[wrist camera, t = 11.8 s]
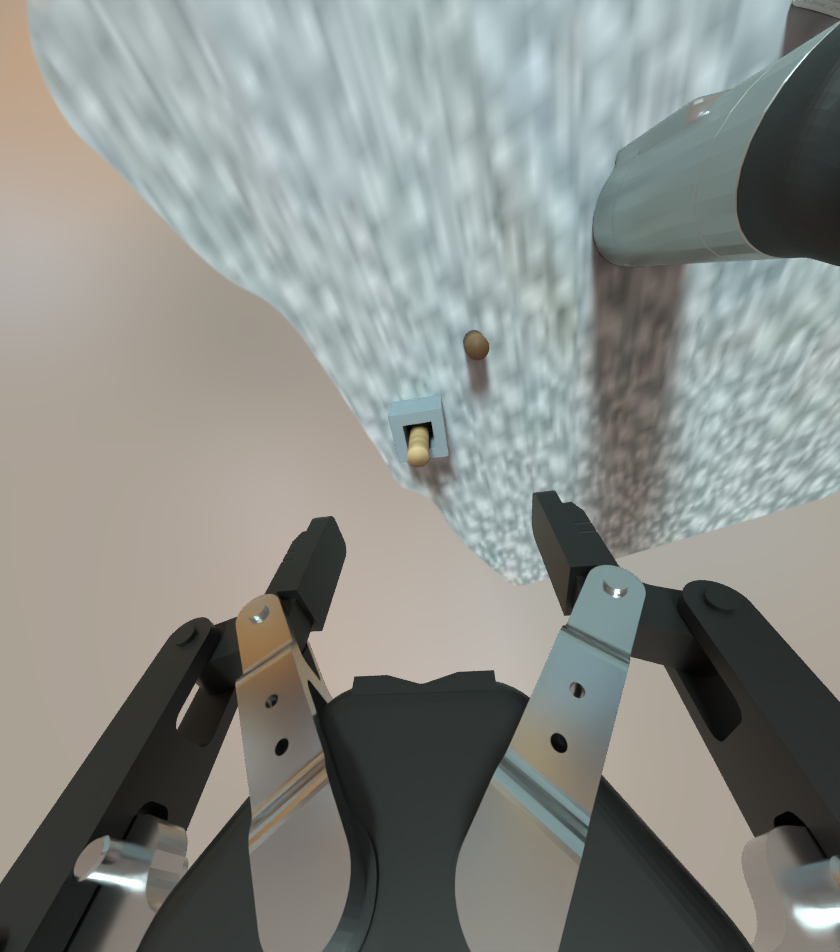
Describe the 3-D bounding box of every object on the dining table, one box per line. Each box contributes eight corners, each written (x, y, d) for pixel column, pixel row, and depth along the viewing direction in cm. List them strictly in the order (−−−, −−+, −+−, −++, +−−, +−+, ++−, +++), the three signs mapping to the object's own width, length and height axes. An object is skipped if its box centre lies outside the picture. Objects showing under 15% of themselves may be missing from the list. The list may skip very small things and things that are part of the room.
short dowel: (462, 332, 36) (465, 338, 32) (482, 328, 36) (488, 334, 32) (464, 353, 37) (467, 362, 33) (484, 350, 37) (489, 358, 33)
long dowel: (410, 415, 42) (405, 449, 33) (427, 412, 41) (426, 446, 33) (413, 430, 43) (409, 468, 35) (430, 428, 43) (430, 465, 34)
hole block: (392, 402, 41) (388, 416, 37) (440, 394, 40) (441, 408, 36) (402, 445, 44) (399, 462, 40) (447, 438, 43) (448, 455, 39)
